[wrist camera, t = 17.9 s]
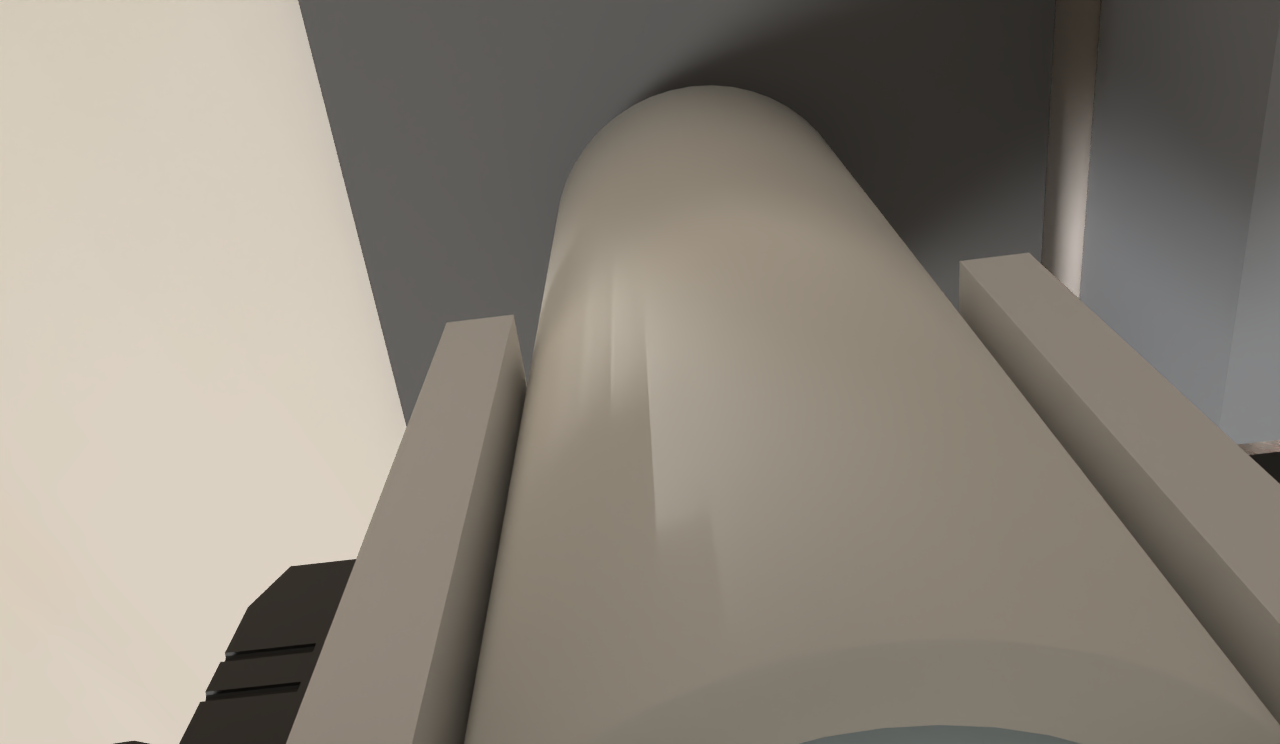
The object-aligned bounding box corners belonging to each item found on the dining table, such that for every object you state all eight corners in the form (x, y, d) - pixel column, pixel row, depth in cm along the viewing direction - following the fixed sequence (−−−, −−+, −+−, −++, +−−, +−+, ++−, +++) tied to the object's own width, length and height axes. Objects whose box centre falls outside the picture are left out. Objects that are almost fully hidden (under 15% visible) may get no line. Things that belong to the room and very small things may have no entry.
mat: (281, -113, 16) (269, -112, 15) (1052, -219, 16) (1067, -221, 15) (439, 520, 21) (434, 537, 21) (1018, 454, 21) (1029, 470, 20)
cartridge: (498, 261, 17) (210, 1188, 5) (683, 18, 16) (917, 525, 3) (722, 418, 19) (917, 1435, 7) (914, 210, 17) (1660, 1054, 5)
